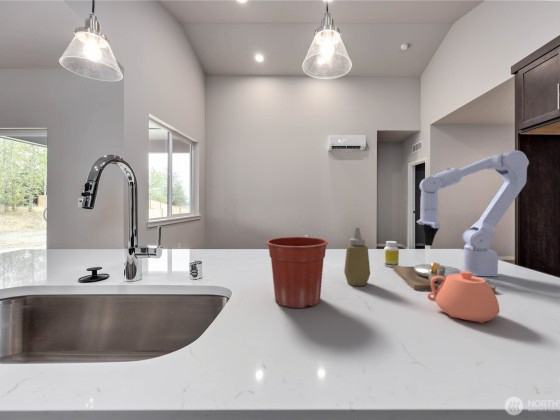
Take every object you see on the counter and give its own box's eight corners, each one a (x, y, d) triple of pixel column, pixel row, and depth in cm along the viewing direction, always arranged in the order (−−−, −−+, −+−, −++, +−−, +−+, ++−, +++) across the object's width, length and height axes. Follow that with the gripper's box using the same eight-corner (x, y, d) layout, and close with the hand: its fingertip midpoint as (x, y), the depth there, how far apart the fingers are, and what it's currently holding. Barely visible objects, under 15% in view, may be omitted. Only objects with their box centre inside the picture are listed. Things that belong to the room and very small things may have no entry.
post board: (456, 272, 99) (456, 257, 99) (495, 293, 77) (496, 274, 77) (393, 270, 102) (393, 255, 102) (414, 289, 80) (414, 271, 80)
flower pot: (258, 294, 77) (258, 238, 76) (308, 286, 84) (308, 235, 83) (281, 317, 62) (281, 248, 61) (340, 306, 68) (341, 243, 68)
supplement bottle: (400, 267, 106) (401, 242, 105) (386, 267, 106) (387, 242, 105) (395, 264, 111) (395, 240, 111) (381, 264, 111) (382, 240, 111)
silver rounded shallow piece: (418, 265, 99) (418, 254, 99) (464, 271, 90) (464, 259, 90) (407, 276, 86) (407, 263, 86) (460, 284, 77) (460, 270, 77)
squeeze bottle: (371, 281, 88) (372, 226, 87) (368, 289, 81) (369, 229, 80) (346, 278, 92) (346, 226, 91) (341, 285, 84) (341, 228, 83)
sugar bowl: (503, 332, 55) (505, 283, 54) (425, 317, 62) (426, 273, 62) (494, 311, 65) (495, 269, 65) (428, 299, 72) (429, 262, 72)
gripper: (411, 208, 109) (410, 241, 109) (425, 210, 94) (424, 248, 95) (429, 208, 108) (428, 242, 108) (446, 210, 93) (446, 249, 94)
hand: (428, 245), depth 102 cm, fingers closed
